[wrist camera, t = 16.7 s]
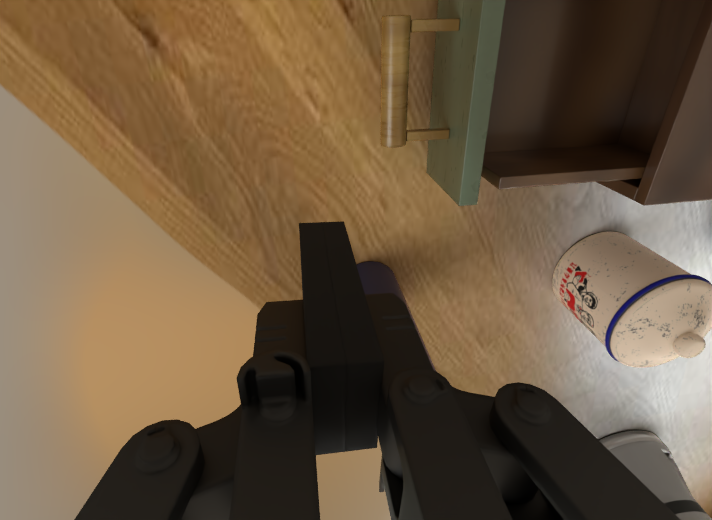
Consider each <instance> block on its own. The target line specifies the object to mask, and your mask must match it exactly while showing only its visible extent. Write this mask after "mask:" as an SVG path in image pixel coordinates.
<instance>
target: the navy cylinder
mask: <svg viewBox="0 0 712 520" xmlns="http://www.w3.org/2000/svg"><path fill="white" fill-rule="evenodd" d="M357 269H358V272H359V276H360V279H361V283H362V286H363V290H364V293H365V294H380V293H394V294H395V295H396V296H398V297H399V298H400V299H401V300H402V301H403V302H404V303H405V304H406V307H407V309H408V311H409V314H410V318H412V321H413V323H414V325H415V329H416V330H417V332H418V335H419V337H420V339H421V342H422V344H423V347H424V349H425V351H426V354H427V356H428V358H429V361H430V363H431V365H432V368H433V369H434V371H436V370H435V367H434V365H433V363H432V361H431V358H430V356H429V354H428V351H427V349H426V347H425V344H424V342H423V340H422V337H421V335H420V333H419V330H418V328H417V326H416V324H415V321H414V319H413V317H412V314H411V312H410V310H409V307H408V305H407V303H406V300H405V298H404V296H403V293H402V291H401V289H400V287H399V284H398V282H397V280H396V277H395V275H394V273H393V271H392V270H391V269H390V268H389V267H388V266H386V265H384V264H382V263H379V262H373V261H369V262H363V263H360V264H357Z"/></svg>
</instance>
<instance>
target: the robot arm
mask: <svg viewBox="0 0 712 520" xmlns="http://www.w3.org/2000/svg"><path fill="white" fill-rule="evenodd" d="M299 231H300V250H301V270H302V290H303V300H292V301H276V302H266V304H265V305H264V306H263V308H262V309H261V310H260V312H259V313H258V315H257V325H256V334H255V343H254V353H253V357H252V358H250V359H249V360H248V361H247V362H246V363H245V364H244V365H243V366H242V367H241V369H240V371H239V373H238V376H237V383H238V388H239V394H240V400H241V405H240V406H239V407H238V408H237V409H236V410H235V411H233V412H232V413H231V414H229V415H228V416H226V417H224V418H222V419H220V420H218V421H215V422H213V423H210V424H207V425H205V426H202V427H199V428H197V429H195V428H194V427H192V425H191V424H189V423H187V422H184V421H180V420H164V421H160V422H158V423H155V424H152V425H149V426H147V427H145V428H144V429H142V430H141V431H140V432H138V433H136V434H135V435H133V436H132V437H131V439H130V440H129V441H128V442H127V443H126V444H125V445H124V446H123V447H122V449H121V450H120V452H119V453H118V455H117V456H116V458H115V459H114V461H113V462H112V464H111V465H110V467H109V468H108V470H107V471H106V473H105V474H104V476H103V477H102V479H101V480H100V482H99V483H98V485H97V486H96V488H95V489H94V491H93V492H92V494H91V496H90V497H89V499H88V500H87V502H86V503H85V505H84V506H83V508H82V509H81V511H80V512H79V514H78V515H77V517H76V518H75V520H320V512H319V499H318V482H317V469H316V455H321V454H328V453H337V452H345V451H353V450H361V449H369V448H377V441H378V437H379V442H380V446H381V451H382V460H381V472H380V482H379V488H380V489H379V492H383V491H384V490H385V492H386V496H387V501H388V506H389V511H390V516H391V520H712V519H711V518H710V517H709V515H708V514H707V513H706V512H705V511H704V510H703V509H702V508H701V506H700V505H699V504H698V503H697V502H696V500H695V499H694V498H693V496H692V495H691V493H690V491H689V489H688V487H687V485H686V483H685V481H684V479H683V477H682V475H681V473H680V471H679V469H678V467H677V465H676V463H675V462H674V460H673V457H672V455H671V453H670V451H669V449H668V448H667V447H666V445H665V444H664V443H663V442H662V441H661V440H660V439H659V438H658V437H657V436H656V435H655V434H653V433H651V432H647V431H638V430H636V431H626V432H621V433H617V434H614V435H611V436H608V437H605V438H603V439H601V440H598V439H597V438H596V437H595V436H594V435H593V434H592V433H591V432H590V431H588V430H587V429H586V428H585V427H584V426H583V425H582V424H581V423H580V422H579V421H578V420H577V419H576V418H575V417H574V416H573V415H572V414H571V413H570V412H569V411H568V410H567V409H566V408H565V407H564V406H563V405H562V404H561V403H560V402H559V401H557V400H556V399H555V398H554V397H553V396H551V395H550V394H549V393H547V392H546V391H545V390H542V389H540V388H538V387H536V386H533V385H530V384H524V383H511V384H506V385H505V386H503V387H501V388H500V389H499V390H498V392H497V394H496V396H495V397H491V396H485V395H479V394H474V393H468V392H465V391H461V390H458V389H456V388H454V387H452V386H451V385H450V383H449V382H448V381H447V379H446V378H445V377H443V376H442V375H441V374H439V373H438V372H436V371H434V369H433V368H432V365H431V363H430V361H429V358H428V356H427V354H426V351H425V349H424V347H423V344H422V342H421V339H420V337H419V335H418V332H417V330H416V329H415V325H414V323H413V321H412V318H410V314H409V311H408V309H407V307H406V304H405V303H404V302H403V301H402V300H401V299H400V298H399V297H398V296H396V295H395V294H394V293H380V294H365V293H364V290H363V286H362V283H361V279H360V276H359V272H358V269H357V265H356V262H355V259H354V255H353V252H352V248H351V245H350V241H349V238H348V234H347V231H346V228H345V224H344V222H319V223H299Z"/></svg>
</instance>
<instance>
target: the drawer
mask: <svg viewBox="0 0 712 520" xmlns="http://www.w3.org/2000/svg"><path fill="white" fill-rule="evenodd" d="M704 1H705V0H438V10H437V19H415V20H411V16H410V15H393V16H382V37H381V145H382V146H384V147H391V148H396V147H402V146H405V144H406V141H423V140H429V142H428V157H427V173H428V174H429V175H430V177H431V178H432V179H433V180H434V181H435V182H436V183H437V184H438V185H439V186H440V187H441V188H442V189H443V190H444V191H445V192H446V193H447V194H448V195H449V196H450V197H451V198H452V199H453V200H454V201H455V202H456V203H457V204H458V205H459V206H464V205H476V204H477V201H478V194H479V187H480V180H481V176H482V177H483V178H485V179H486V180H487V181H489V182H490V183H491V184H493V185H494V186H495V187H497V188H498V189H507V188H521V187H534V186H547V185H560V184H573V183H586V182H599V181H612V180H625V179H638V178H642V177H643V174H644V171H645V168H646V165H647V163H648V160H649V157H650V154H651V151H652V148H653V146H654V143H655V140H656V137H657V134H658V131H659V129H660V126H661V123H662V120H663V117H664V114H665V112H666V109H667V106H668V103H669V100H670V97H671V95H672V92H673V89H674V86H675V83H676V80H677V78H678V75H679V72H680V69H681V66H682V63H683V61H684V58H685V55H686V52H687V49H688V47H689V44H690V41H691V38H692V35H693V32H694V30H695V27H696V24H697V21H698V18H699V15H700V13H701V10H702V7H703V4H704ZM410 32H436V40H435V54H434V69H433V84H432V98H431V113H430V128H429V129H418V130H406V126H407V101H408V76H409V51H410Z"/></svg>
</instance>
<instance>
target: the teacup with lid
mask: <svg viewBox="0 0 712 520" xmlns="http://www.w3.org/2000/svg"><path fill="white" fill-rule="evenodd" d="M552 287H553V291H554V294H555V296H556V297H557V298H558V300H559V301H560V302H561V303H562V304H563V305H564V306H565V307H566V308H567V309H568V310H569V311H570V312H571V313H572V314H573V315H574V316H575V317H576V318H577V319H578V320H579V321H580V322H581V323H582V324H583V325H584V326H585V327H586V328H587V329H588V330H589V331H590V332H591V333H592V334H593V335H594V336H595V337H596V338H597V339H598V340H599V341H600V342H601V343H602V344H603V345H604V346H605V347H606V349H607V351H608V353H609V354H610V356H611V357H612V358H614V359H615V360H616V361H618V362H621V363H622V364H625V365H628V366H631V367H639V368H645V367H652V366H657V365H661V364H664V363H666V362H669V361H671V360H674V359H675V358H677V357H679V356H681V357H683V358H692V357H695V356H697V355H698V354H700V353H701V352H702V351H703V350H704V348H705V340H704V339H703V338H704V337H705V336H706V334H707V333H708V332H709V331H710V329H711V328H712V284H711V283H710V282H709V281H708V280H706V279H704V278H702V277H700V276H696V275H691V274H690V273H688V272H686V271H685V270H683V269H681V268H680V267H678V266H676V265H675V264H673V263H671V262H670V261H668V260H666V259H665V258H663V257H661V256H660V255H658V254H656V253H655V252H653V251H651V250H650V249H648V248H647V247H645V246H643V245H642V244H640V243H638V242H637V241H635V240H633V239H632V238H630V237H628V236H627V235H625V234H622V233H619V232H601V233H597V234H594V235H591V236H588V237H586V238H584V239H582V240H581V241H579V242H578V243H576V244H575V245H574V246H572V247H571V248H570V249H569V250H568V251H567V252H566V253H565V254H564V255H563V257H562V258H561V259H560V261H559V262H558V264H557V266H556V268H555V271H554V274H553V278H552Z"/></svg>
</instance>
